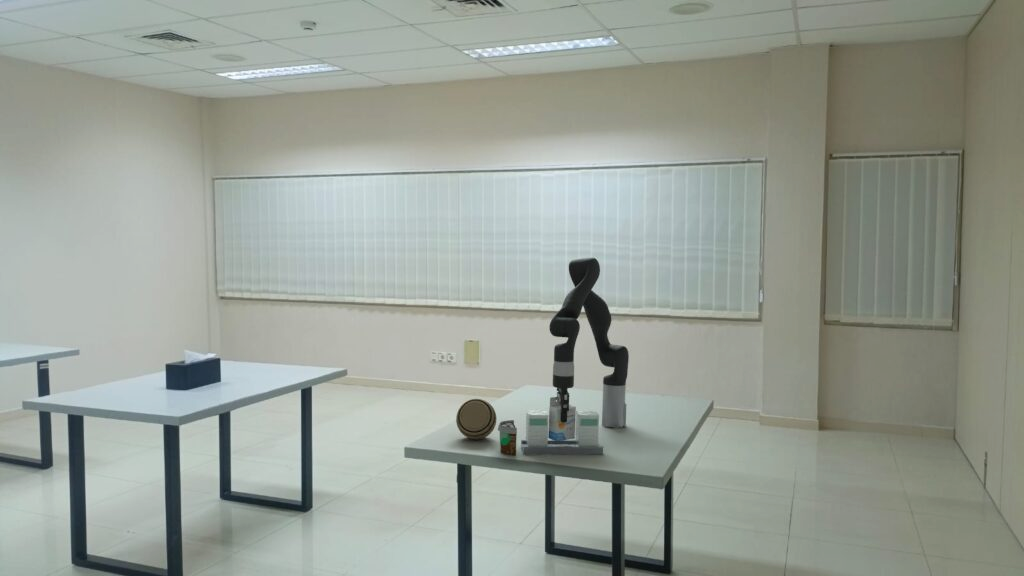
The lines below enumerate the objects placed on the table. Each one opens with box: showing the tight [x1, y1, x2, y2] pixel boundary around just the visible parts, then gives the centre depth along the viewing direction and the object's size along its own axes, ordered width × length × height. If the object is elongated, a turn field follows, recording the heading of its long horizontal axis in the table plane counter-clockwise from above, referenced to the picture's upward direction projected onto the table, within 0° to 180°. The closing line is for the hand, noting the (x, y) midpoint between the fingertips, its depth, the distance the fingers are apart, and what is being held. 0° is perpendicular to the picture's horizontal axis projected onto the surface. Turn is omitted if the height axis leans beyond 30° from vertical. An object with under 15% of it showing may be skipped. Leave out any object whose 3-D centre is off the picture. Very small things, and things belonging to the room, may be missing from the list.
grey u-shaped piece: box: [520, 410, 604, 455], centre depth 262 cm, size 28×10×14 cm, turn 94°
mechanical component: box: [455, 398, 497, 440], centre depth 276 cm, size 15×15×15 cm
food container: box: [497, 419, 518, 457], centre depth 259 cm, size 12×6×10 cm, turn 5°
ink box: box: [548, 396, 577, 441], centre depth 262 cm, size 8×5×15 cm, turn 123°
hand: (562, 419), depth 262 cm, fingers closed on ink box, 6 cm apart
